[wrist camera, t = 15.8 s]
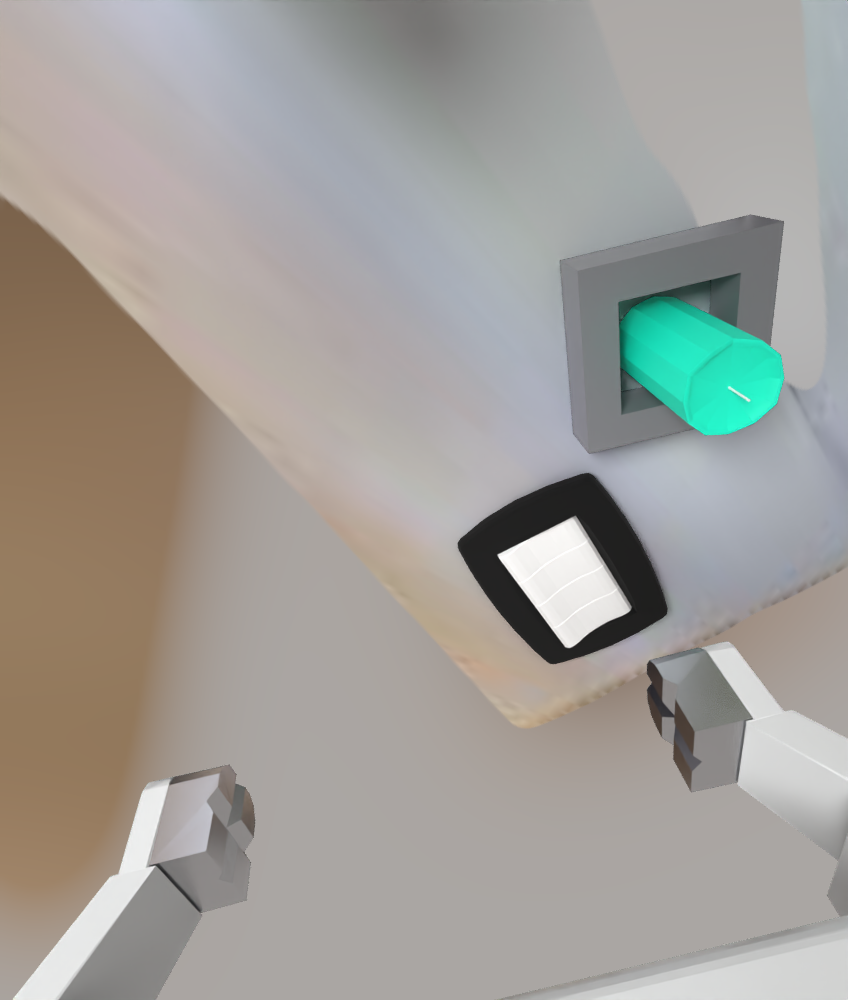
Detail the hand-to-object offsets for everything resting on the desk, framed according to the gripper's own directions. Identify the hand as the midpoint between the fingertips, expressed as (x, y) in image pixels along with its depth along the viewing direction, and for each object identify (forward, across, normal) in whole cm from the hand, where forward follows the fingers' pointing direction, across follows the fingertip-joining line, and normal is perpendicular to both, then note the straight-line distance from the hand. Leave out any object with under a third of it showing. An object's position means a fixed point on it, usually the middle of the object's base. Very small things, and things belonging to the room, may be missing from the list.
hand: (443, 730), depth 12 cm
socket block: (+33, -20, +7) cm, 39 cm away
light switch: (+34, -11, +28) cm, 45 cm away
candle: (+34, -19, +8) cm, 40 cm away
